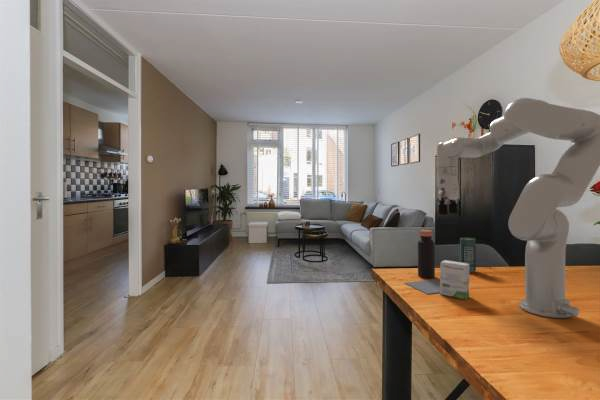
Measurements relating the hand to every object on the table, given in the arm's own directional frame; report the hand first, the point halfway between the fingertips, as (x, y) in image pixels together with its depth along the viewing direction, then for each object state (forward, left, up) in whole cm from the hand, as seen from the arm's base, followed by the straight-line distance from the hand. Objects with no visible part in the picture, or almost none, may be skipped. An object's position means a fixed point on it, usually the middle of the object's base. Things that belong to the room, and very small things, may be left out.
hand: (448, 213), depth 124 cm
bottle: (+9, +4, -28) cm, 30 cm away
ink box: (-15, +11, -28) cm, 34 cm away
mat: (-4, +11, -28) cm, 30 cm away
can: (+11, -20, -28) cm, 36 cm away
